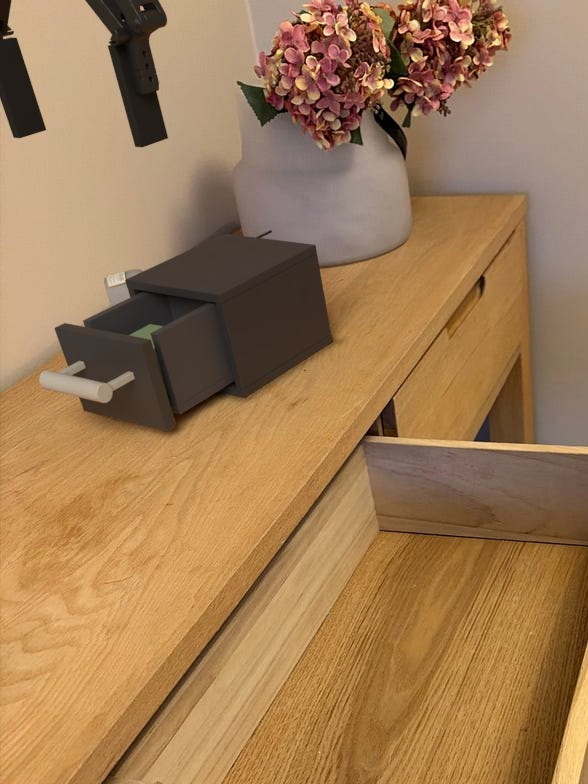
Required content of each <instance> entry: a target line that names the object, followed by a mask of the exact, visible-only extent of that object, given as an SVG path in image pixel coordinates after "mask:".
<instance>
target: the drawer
mask: <svg viewBox="0 0 588 784" xmlns="http://www.w3.org/2000/svg"><path fill="white" fill-rule="evenodd" d="M82 322H83V326H82V325H77V324H73V323H67V322H63V323H62V324H59V325H57V326H56V327H54V331H55V334H56V338H57V340H58V343H59V345H60V348H61V351H62V353H63V356H64V359H65V362H66V364H67V366H66V367H65V368H63V369H61V370H58V371H54V370H49V369H46V370H43V371H42V372H41V373H40V374H39V377H38V378H39V379H38V382H39V385H40V386H41V388H43V389H44V390H46V391H51V392H56V393H59V394H63V395H64V394H65V395H69V396H72V397H76V398H79V401H80V403H81V406H82V409H83V412H86V413H91V414H94V415H98V416H102V417H106V418H111V419H114V420H118V421H121V422H122V421H123V422H126V423H131V424H135V425H138V426H142V427H146V428H151V429H155V430H159V431H163V432H169V431H170V430H172V429H173V428H175V427H177V423H176V420H175V417H174V414H177V415H183V414H184V413H185V412H187V411H189V410H191V409H192V408H193V407H196V406H197V405H199V404H200V403H201V402H203V401H205V400H206V399H208V398H209V397H211V396H213V395H214V394H216V393H217V392H218V391H219V390H221V389H223V388H224V387H226V386H227V385H229V384H231V383H232V382H234V381H235V380H234V376H233V372H232V368H231V364H230V360H229V356H228V352H227V348H226V344H225V340H224V336H223V332H222V328H221V323H220V319H219V315H218V311H217V307H216V303H214V302H208V301H202V300H196V299H190V298H184V297H178V296H172V295H166V294H159V293H153V292H147V291H143V292H141V293H139V294H137V295H135V296H133V297H131V298H129V299H127V300H124V301H122V302H120V303H118V304H116V305H114V306H110V307H108V308H106V309H103V310H102V311H99V312H98V313H95V314H94V315H91V316H89V317H87V318H85V319H83V320H82ZM149 324H153V325H158V326H163V327H161V328H160V329H158V330H156V331H154V332H152V333H150V334H151V337H152V341H153V344H154V347H155V351H156V354H157V357H158V361H159V364H160V368H161V371H162V374H163V378H164V381H165V384H166V388H167V391H168V395H169V396H167V393H166V389H165V386H164V382H163V379H162V376H161V372H160V369H159V366H158V362H157V359H156V356H155V352H154V349H153V345H152V342H151V340H150V339H145V338H140V337H135V336H129V335H130V334H132V333H134V332H136V331H138V330H140V329H142V328H144V327H146V326H147V325H149ZM218 393H219V392H218Z"/></svg>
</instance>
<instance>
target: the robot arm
mask: <svg viewBox="0 0 588 784" xmlns="http://www.w3.org/2000/svg"><path fill="white" fill-rule="evenodd" d="M84 1H85V2H86V3H87V5H88V6H89V7H90V9H91V10H92V11H93V12H94V14H95V15H96V17H98V19H99V20H100V21H101V22H102V24H103V25H104V27H105V28H106V29H107V30H108V32H109V33H110V34H111V37H110V39H109V40H110V41H108V44H109V45H107V48H108V52H109V56H110V60H111V63H112V67H113V70H114V74H115V78H116V81H117V85H118V89H119V93H120V97H121V100H122V103H123V107H124V111H125V114H126V119H127V122H128V126H129V129H130V133H131V136H132V141H133V143H134V144H133V145H134V147H135V148H145V147H148V146H150V145H154V144H157V143H159V142H162V141H164V140H167V139H168V140H169V136H168V132H167V128H166V123H165V121H164V116H163V112H162V108H161V103H160V100H159V95H158V93H157V91H160V80H159V78H158V77H159V76H158V74H157V69H156V65H155V61H154V56H153V53H152V48H151V45H150V37H151V35H152V34H153V33H154V32H156V31H158V30H159V29H161V28H165V27H166V25H167V24H168V17H167V14H166V12H165V10H164V8H163V6H162V4H161V2H160V1H159V0H84ZM11 6H12V0H0V102H1V105H2V108H3V110H4V114H5V117H6V119H7V121H8V126H9V128H10V131H11V133H12V138H13V139H23V138H25V137H29V136H32V135H35V134H39V133H42V132H45V131H47V128H46V124H45V121H44V118H43V115H42V112H41V109H40V106H39V102H38V100H37V96H36V93H35V90H34V87H33V84H32V81H31V78H30V75H29V71H28V68H27V65H26V62H25V59H24V56H23V53H22V50H21V46H20V44H19V40H18V38H17V37H9V36H12V35H14V33H15V31H14V30H13V29H12V28H11V27H10V26H9V19H10V13H11ZM141 7H142V8H143V10H142V9H141Z"/></svg>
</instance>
